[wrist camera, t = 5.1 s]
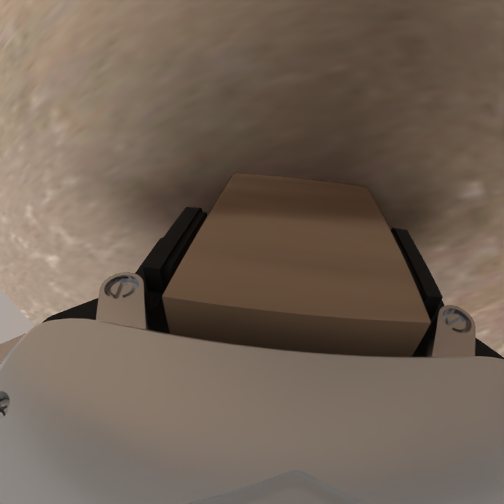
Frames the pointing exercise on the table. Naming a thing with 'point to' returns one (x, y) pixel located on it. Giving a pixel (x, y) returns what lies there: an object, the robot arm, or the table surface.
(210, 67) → the table surface
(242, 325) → the walnut block
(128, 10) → the table surface
